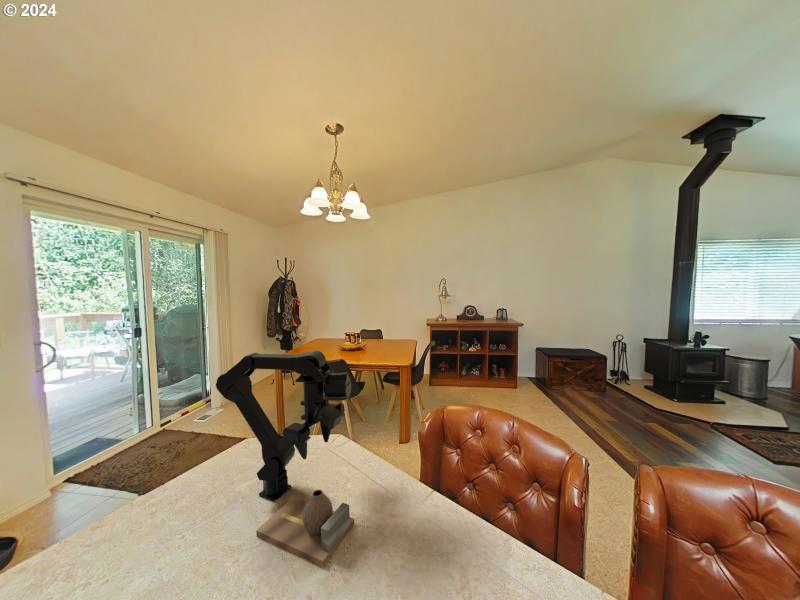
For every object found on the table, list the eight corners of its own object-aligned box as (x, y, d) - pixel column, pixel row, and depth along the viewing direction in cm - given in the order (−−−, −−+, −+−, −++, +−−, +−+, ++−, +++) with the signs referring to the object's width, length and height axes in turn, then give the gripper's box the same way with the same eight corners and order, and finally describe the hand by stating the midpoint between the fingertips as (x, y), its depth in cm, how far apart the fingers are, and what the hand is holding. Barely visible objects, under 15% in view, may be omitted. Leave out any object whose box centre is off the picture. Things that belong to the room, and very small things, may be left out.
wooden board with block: (256, 536, 68) (255, 510, 68) (293, 501, 79) (292, 479, 79) (323, 567, 60) (322, 538, 60) (354, 524, 71) (353, 499, 71)
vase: (326, 542, 64) (325, 505, 64) (297, 539, 65) (296, 502, 65) (337, 518, 71) (336, 484, 71) (311, 515, 72) (310, 481, 72)
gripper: (314, 414, 69) (316, 476, 70) (355, 389, 86) (357, 439, 87) (280, 407, 74) (282, 466, 74) (326, 384, 91) (327, 432, 91)
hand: (315, 449), depth 82 cm, fingers open, 9 cm apart
